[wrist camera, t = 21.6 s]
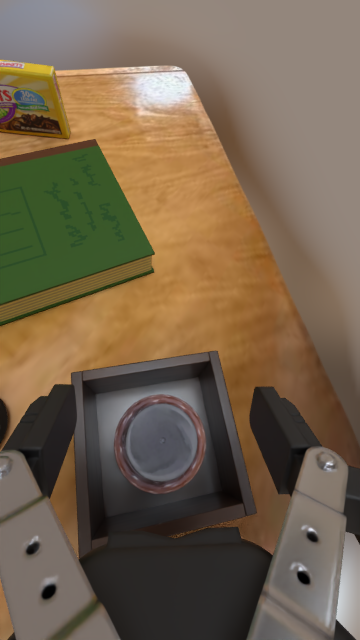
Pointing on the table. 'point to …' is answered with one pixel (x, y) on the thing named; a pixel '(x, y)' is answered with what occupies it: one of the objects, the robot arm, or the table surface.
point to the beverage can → (3, 420)
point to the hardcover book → (64, 230)
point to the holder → (106, 477)
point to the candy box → (31, 100)
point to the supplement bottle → (159, 444)
